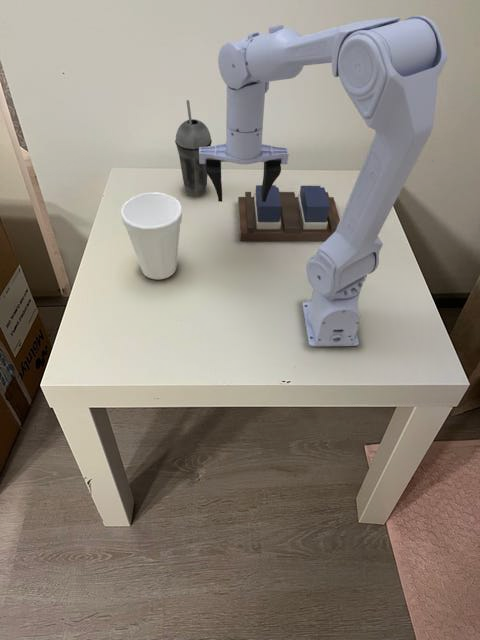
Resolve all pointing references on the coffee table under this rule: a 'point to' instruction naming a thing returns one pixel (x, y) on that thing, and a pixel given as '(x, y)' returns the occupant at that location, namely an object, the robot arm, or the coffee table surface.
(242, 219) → the slotted wooden tray
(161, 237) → the cup
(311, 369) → the coffee table surface
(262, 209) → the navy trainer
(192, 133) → the beverage cup
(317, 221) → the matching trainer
